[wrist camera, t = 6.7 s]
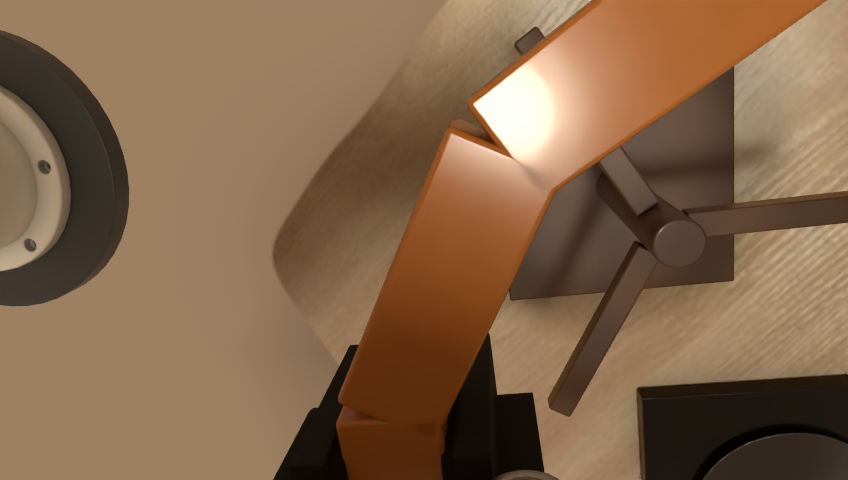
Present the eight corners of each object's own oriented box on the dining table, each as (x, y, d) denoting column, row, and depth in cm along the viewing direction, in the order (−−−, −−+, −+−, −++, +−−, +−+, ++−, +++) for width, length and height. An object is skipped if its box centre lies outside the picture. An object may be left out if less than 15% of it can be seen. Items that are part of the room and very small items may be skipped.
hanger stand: (512, 320, 34) (524, 450, 22) (482, 49, 30) (477, 31, 18) (776, 297, 32) (946, 428, 20) (782, 2, 28) (1002, -55, 16)
